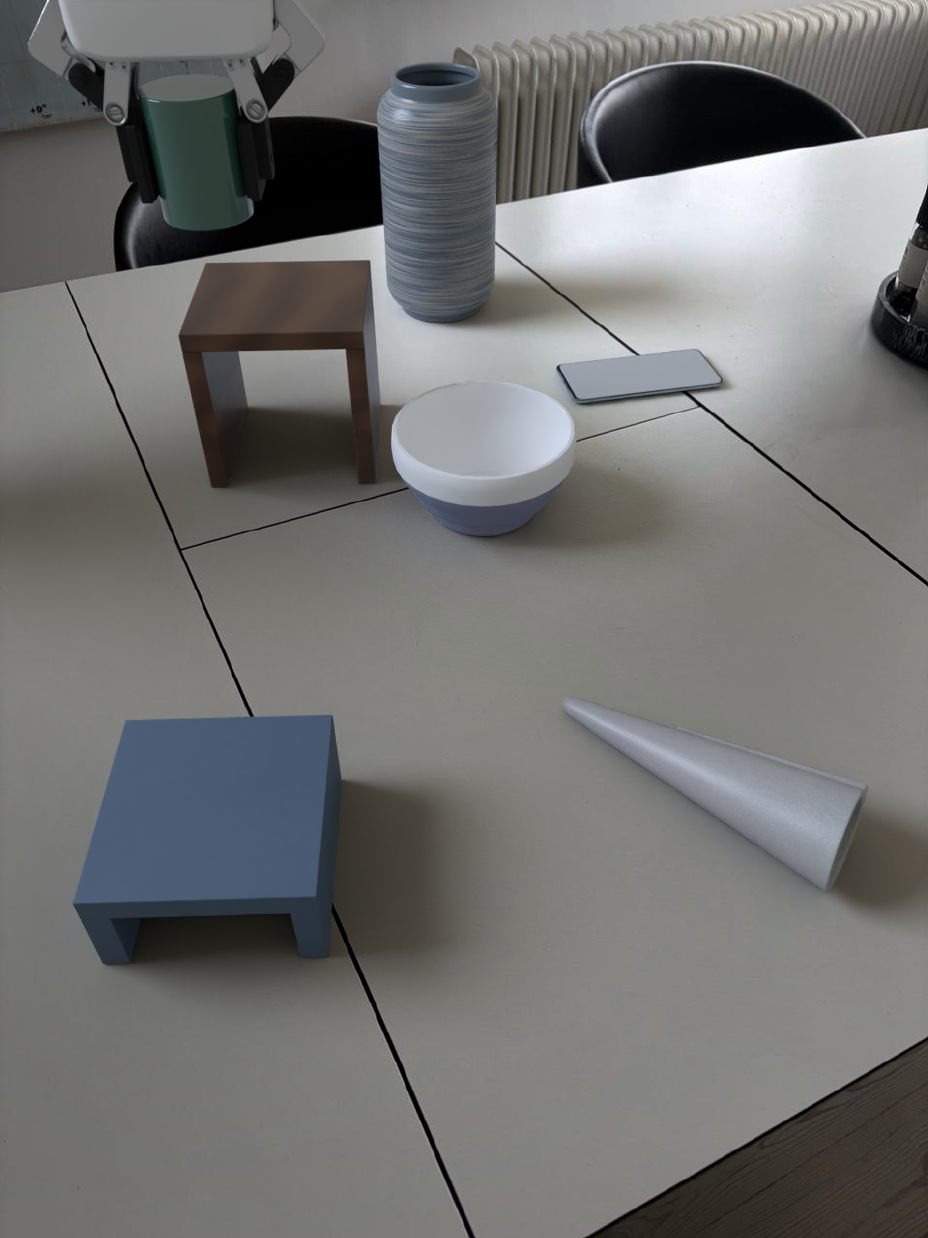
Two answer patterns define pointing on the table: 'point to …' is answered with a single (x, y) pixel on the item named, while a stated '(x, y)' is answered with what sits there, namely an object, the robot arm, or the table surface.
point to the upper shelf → (278, 344)
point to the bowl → (483, 453)
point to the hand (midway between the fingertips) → (204, 189)
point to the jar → (196, 150)
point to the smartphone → (638, 375)
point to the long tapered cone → (743, 788)
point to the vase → (438, 189)
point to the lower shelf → (215, 828)
